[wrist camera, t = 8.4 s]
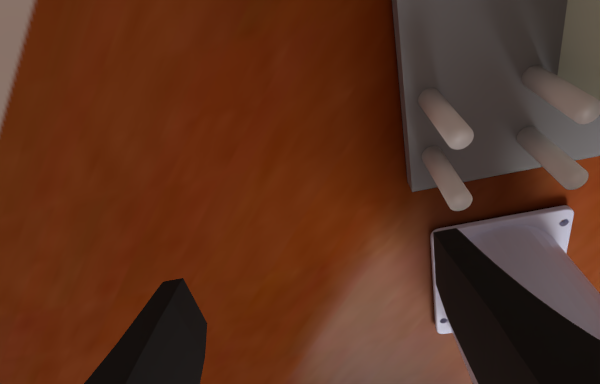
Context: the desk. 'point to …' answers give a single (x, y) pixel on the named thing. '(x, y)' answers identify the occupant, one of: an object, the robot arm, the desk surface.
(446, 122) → the dish rack
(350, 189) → the desk surface
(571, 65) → the pale rectangular block
